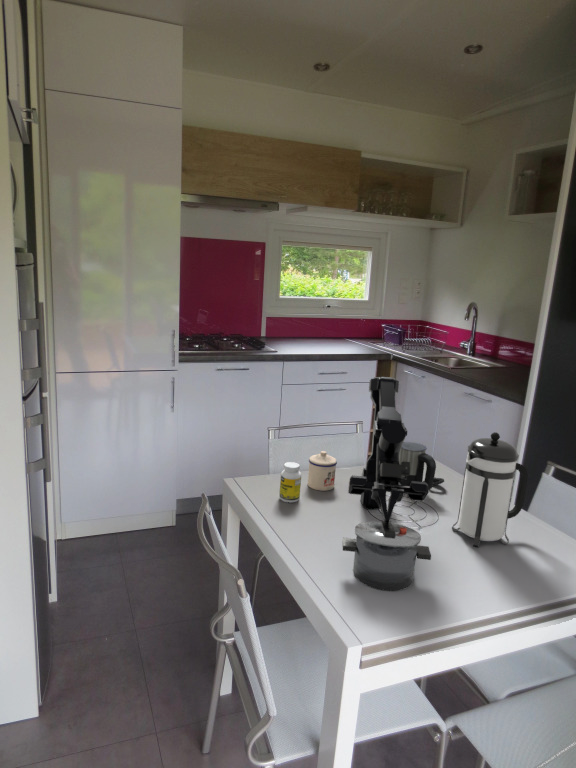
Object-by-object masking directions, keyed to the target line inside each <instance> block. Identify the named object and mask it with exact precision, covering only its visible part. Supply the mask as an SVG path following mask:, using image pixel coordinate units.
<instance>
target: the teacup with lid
mask: <svg viewBox="0 0 576 768" xmlns="http://www.w3.org/2000/svg"><path fill="white" fill-rule="evenodd" d="M327 453H328V452H327V451H325V450H321V451H320V453H317V454H313V455H311V456H309V459H308V462H309V463H308V464H309V465H308V473H307V474H308V477H307V486H308V487H309V488H311V489H312V490H316V491H322V492H324V491H325V492H326V491H330V490H333V488H335V479H336V468H337V464H338V461H337V458H335V457H334V456H331V455H329V454H327Z"/></svg>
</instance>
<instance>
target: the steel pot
mask: <svg viewBox="0 0 576 768" xmlns="http://www.w3.org/2000/svg"><path fill="white" fill-rule="evenodd" d="M355 537H356V538H353V537H352V538H351V537H342V551H344V552H354V557H353V566H352V567H353V568H352V571H353V573H352V574H354V576H355V578H356V579H357V580H358V581H359V582H360V583H362V584H363V585H365V586H367V587H369V588H372V589H376V590H378V591H383V592H397V591H398V592H399V591H403V590H406V589H407V588H409V587H410V586H412V584H413V582H414V575H415V568H416V562H417V560H425V561H426V560H428V561H431V559H432V553H431V551H430V547H429V546H427V545H426V546H425V545H419V544H418V545H416V546H412V547H388V546H382V545H377V544H373V543H370V542H367V541H365V540H362V539H361V538H359V537H358V536H357V535H356V536H355Z"/></svg>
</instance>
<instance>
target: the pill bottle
mask: <svg viewBox="0 0 576 768" xmlns="http://www.w3.org/2000/svg"><path fill="white" fill-rule="evenodd" d="M300 467H301V466H300V464H299V463H297V462H293V461H287V462H285V463H284V465H283V470H282V471H281V472H280V485H279V499H280V501H282V502H283V503H284V502H285V503H288V502H289V504H290V503H296V502H298V501H299V500H300V496H301V487H302V486H301V485H302V483H301V482H302V472H301V471H300V470H301V469H300Z"/></svg>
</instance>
